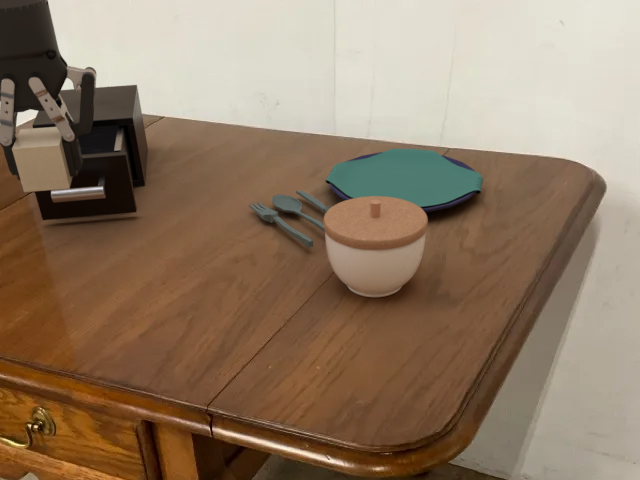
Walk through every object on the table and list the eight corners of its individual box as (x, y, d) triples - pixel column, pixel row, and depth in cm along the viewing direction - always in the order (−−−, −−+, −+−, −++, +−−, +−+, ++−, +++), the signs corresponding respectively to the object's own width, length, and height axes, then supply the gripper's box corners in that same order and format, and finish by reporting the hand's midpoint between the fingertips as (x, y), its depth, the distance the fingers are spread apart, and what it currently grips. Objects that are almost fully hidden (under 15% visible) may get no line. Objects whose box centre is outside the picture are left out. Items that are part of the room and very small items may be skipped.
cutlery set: (510, 199, 100) (512, 182, 99) (312, 262, 88) (312, 244, 86) (417, 153, 113) (418, 138, 112) (235, 202, 101) (233, 185, 100)
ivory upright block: (23, 192, 79) (11, 148, 76) (31, 171, 83) (20, 129, 81) (69, 188, 80) (59, 144, 77) (75, 168, 84) (65, 125, 81)
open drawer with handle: (135, 228, 94) (123, 169, 89) (37, 237, 92) (20, 177, 88) (140, 171, 108) (130, 118, 103) (55, 178, 107) (41, 124, 102)
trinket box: (441, 274, 85) (447, 193, 79) (393, 319, 78) (395, 234, 72) (358, 251, 90) (358, 173, 84) (306, 291, 83) (302, 209, 77)
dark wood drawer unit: (145, 185, 106) (132, 117, 100) (50, 193, 105) (31, 125, 99) (147, 147, 118) (136, 84, 112) (62, 154, 116) (46, 90, 111)
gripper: (-89, 9, 67) (-29, 195, 78) (79, 0, 68) (116, 184, 79) (-69, -9, 73) (-15, 167, 83) (86, -16, 74) (120, 157, 85)
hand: (49, 174), depth 81 cm, fingers closed on ivory upright block, 4 cm apart
